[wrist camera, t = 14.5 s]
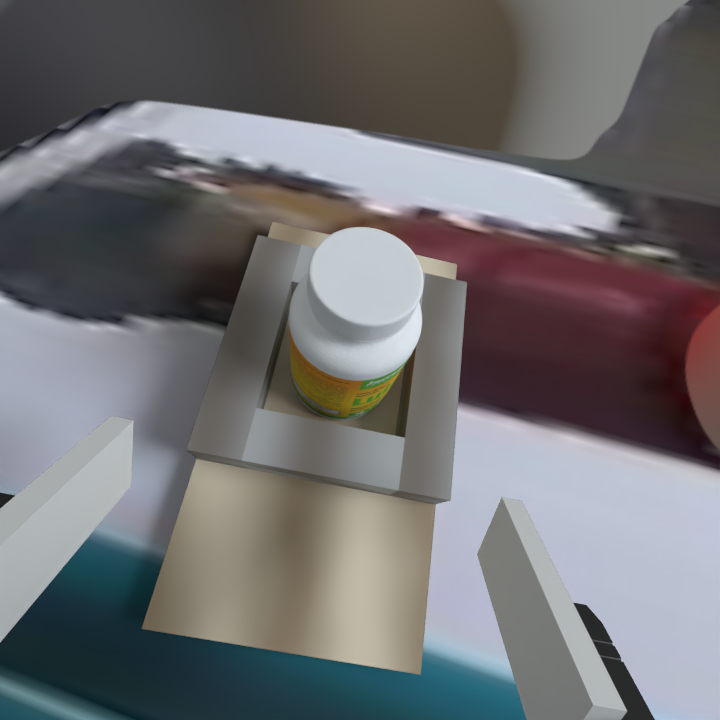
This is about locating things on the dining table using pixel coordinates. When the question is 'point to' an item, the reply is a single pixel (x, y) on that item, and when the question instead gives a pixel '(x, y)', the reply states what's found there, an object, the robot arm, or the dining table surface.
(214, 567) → the socket board
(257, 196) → the dining table surface
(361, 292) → the supplement bottle
